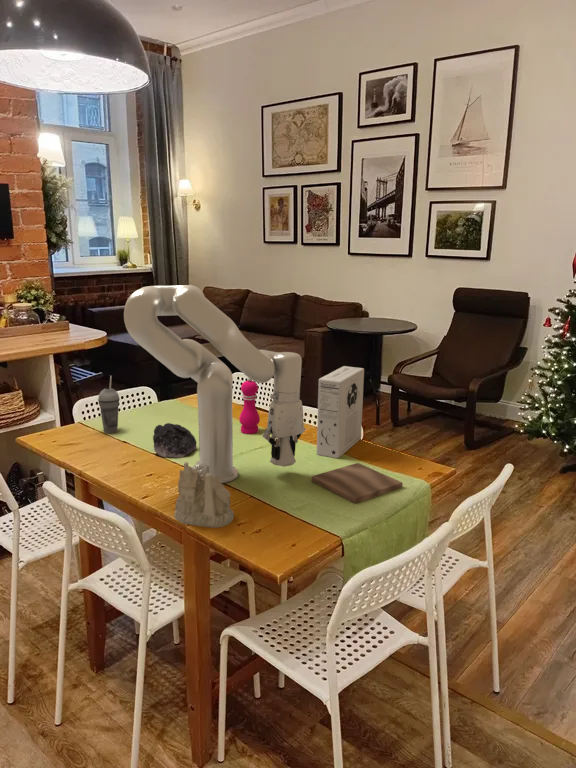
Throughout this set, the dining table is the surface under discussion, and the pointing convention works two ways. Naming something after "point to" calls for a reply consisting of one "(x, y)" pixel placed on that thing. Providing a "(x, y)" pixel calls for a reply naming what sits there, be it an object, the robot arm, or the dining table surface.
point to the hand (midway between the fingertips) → (283, 456)
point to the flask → (284, 454)
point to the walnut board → (356, 482)
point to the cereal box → (339, 411)
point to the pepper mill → (249, 408)
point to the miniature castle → (202, 500)
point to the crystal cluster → (173, 440)
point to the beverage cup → (109, 408)
